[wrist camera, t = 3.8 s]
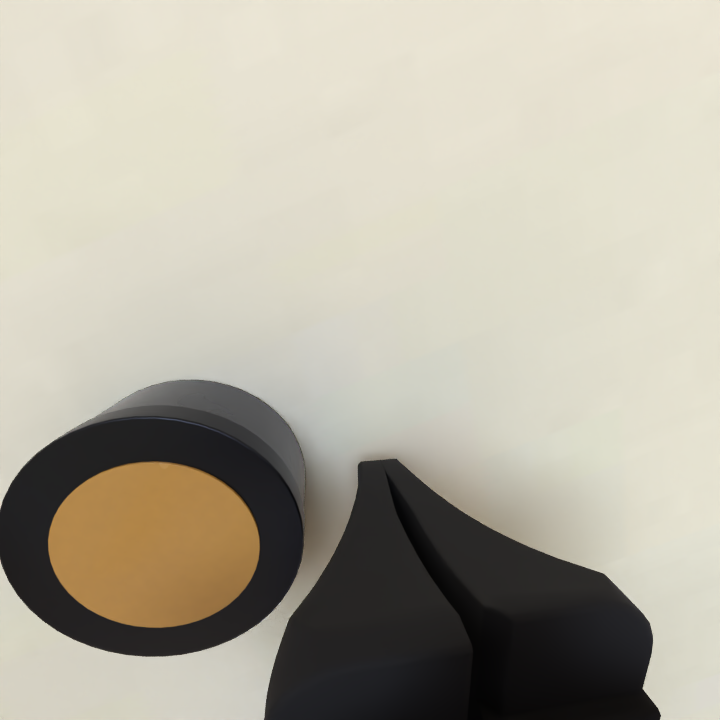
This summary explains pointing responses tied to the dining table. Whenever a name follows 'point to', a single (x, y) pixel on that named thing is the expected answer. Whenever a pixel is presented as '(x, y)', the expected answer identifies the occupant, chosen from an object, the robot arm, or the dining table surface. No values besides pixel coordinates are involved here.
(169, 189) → the dining table surface
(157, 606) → the tin
